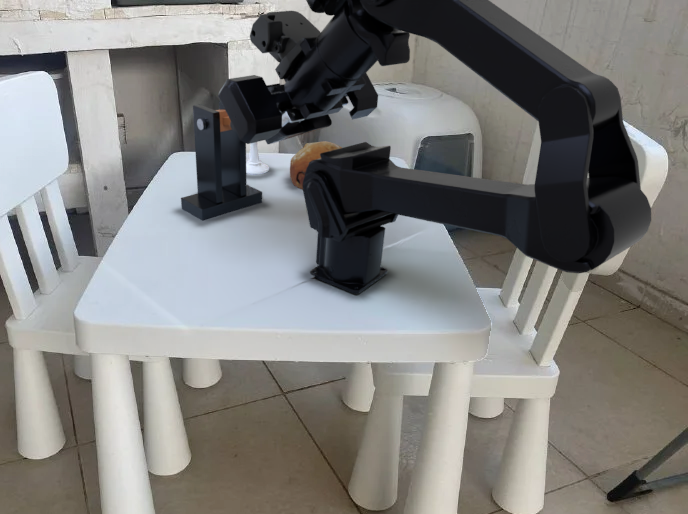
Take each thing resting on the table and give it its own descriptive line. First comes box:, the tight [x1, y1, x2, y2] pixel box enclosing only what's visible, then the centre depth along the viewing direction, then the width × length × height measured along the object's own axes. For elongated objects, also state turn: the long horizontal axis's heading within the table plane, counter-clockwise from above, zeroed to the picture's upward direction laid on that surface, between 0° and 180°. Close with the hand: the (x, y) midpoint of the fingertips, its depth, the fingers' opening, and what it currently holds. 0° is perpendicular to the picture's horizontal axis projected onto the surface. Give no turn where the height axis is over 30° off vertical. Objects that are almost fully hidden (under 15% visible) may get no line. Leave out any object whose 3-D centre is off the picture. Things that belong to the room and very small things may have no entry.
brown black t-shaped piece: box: [215, 109, 235, 132], centre depth 75 cm, size 9×6×2 cm, turn 41°
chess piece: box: [246, 142, 270, 175], centre depth 94 cm, size 5×5×10 cm
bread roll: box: [289, 140, 343, 190], centre depth 92 cm, size 10×10×8 cm
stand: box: [180, 100, 263, 222], centre depth 80 cm, size 5×10×14 cm, turn 131°
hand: (267, 140), depth 71 cm, fingers closed
